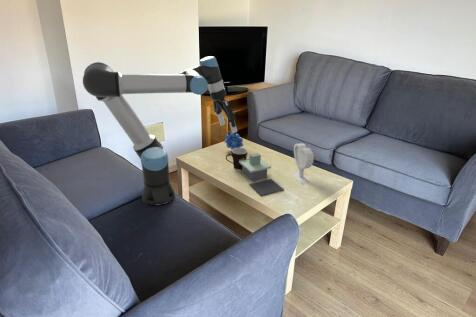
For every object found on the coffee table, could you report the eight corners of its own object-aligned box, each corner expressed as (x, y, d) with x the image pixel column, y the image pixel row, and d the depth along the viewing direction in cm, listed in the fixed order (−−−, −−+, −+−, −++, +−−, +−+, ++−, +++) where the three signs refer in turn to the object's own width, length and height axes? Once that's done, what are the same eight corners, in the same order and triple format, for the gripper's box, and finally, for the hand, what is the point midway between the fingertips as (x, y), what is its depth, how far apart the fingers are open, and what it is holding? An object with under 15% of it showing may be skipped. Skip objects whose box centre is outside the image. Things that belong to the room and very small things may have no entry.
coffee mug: (247, 164, 196) (248, 148, 191) (246, 171, 188) (246, 154, 184) (227, 162, 197) (227, 146, 192) (225, 169, 189) (225, 153, 185)
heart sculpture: (290, 171, 188) (293, 141, 180) (298, 170, 189) (301, 140, 182) (302, 185, 175) (306, 153, 167) (311, 184, 176) (315, 152, 168)
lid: (250, 172, 173) (251, 162, 171) (239, 162, 184) (239, 152, 181) (270, 168, 178) (271, 157, 176) (258, 158, 189) (258, 148, 186)
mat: (261, 196, 164) (261, 195, 164) (249, 185, 174) (249, 184, 174) (283, 190, 170) (283, 189, 170) (270, 179, 179) (271, 178, 179)
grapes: (224, 153, 209) (224, 135, 203) (224, 148, 215) (224, 131, 209) (243, 153, 209) (243, 135, 204) (242, 149, 215) (243, 131, 210)
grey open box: (251, 181, 177) (252, 171, 175) (242, 172, 186) (242, 162, 184) (266, 178, 181) (267, 167, 178) (256, 169, 190) (256, 159, 187)
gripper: (235, 91, 154) (246, 132, 165) (213, 82, 175) (224, 119, 185) (221, 97, 152) (233, 138, 163) (200, 87, 172) (212, 124, 183)
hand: (228, 128), depth 174 cm, fingers open, 13 cm apart
